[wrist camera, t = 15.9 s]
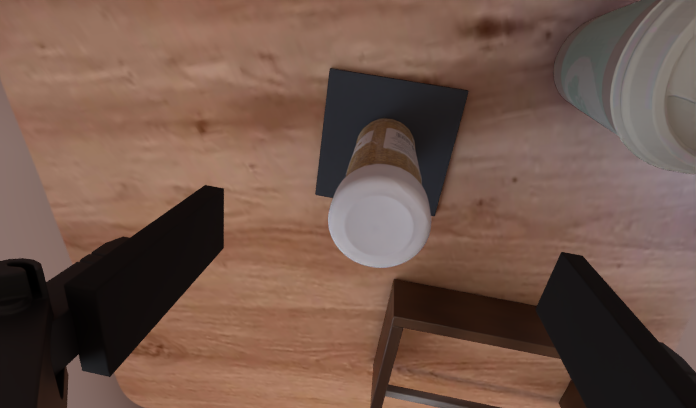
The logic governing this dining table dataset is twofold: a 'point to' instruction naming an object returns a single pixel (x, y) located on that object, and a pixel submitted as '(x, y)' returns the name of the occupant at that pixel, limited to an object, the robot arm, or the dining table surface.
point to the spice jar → (381, 199)
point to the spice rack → (456, 335)
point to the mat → (388, 103)
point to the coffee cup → (638, 78)
